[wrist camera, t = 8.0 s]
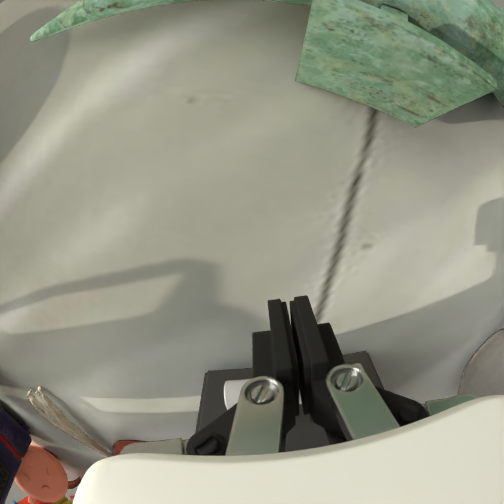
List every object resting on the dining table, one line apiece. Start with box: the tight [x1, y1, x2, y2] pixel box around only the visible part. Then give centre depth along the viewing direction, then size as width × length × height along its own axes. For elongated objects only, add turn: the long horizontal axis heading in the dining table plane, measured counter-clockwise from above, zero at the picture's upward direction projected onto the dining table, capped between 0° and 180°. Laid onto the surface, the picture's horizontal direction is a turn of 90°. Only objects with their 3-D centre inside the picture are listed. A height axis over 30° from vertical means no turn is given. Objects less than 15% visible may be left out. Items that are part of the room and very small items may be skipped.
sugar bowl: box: [14, 445, 68, 504], centre depth 25 cm, size 12×14×10 cm
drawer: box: [199, 351, 383, 452], centre depth 15 cm, size 16×10×8 cm, turn 8°
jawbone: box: [27, 386, 112, 457], centre depth 23 cm, size 17×5×2 cm, turn 28°
